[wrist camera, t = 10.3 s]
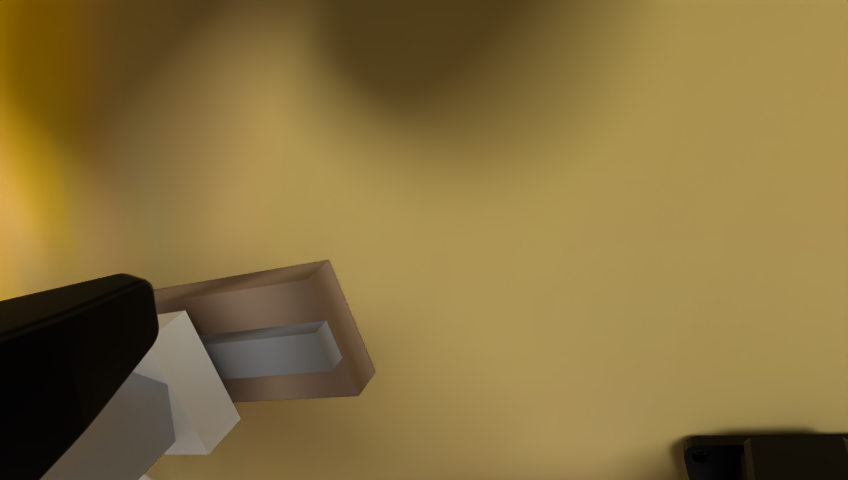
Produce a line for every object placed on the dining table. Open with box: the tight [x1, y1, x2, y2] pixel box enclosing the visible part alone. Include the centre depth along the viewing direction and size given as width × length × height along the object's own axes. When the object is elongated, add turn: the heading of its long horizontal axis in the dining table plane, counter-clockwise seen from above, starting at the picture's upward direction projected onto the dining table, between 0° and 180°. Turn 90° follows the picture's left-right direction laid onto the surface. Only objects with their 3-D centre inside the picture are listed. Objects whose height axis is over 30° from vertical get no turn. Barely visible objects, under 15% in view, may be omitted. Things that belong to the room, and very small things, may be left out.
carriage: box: [40, 311, 241, 480], centre depth 20 cm, size 4×5×10 cm
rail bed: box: [154, 260, 375, 402], centre depth 24 cm, size 12×5×6 cm, turn 110°
